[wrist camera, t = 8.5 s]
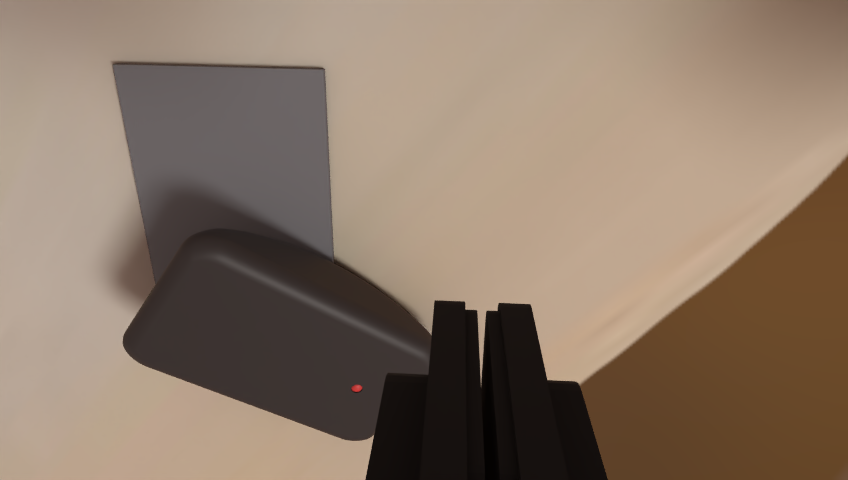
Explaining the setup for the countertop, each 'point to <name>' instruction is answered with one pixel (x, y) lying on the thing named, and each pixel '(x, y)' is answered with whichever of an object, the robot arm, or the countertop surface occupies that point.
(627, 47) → the countertop surface
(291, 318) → the leaning round-cornered charcoal block
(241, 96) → the mat
